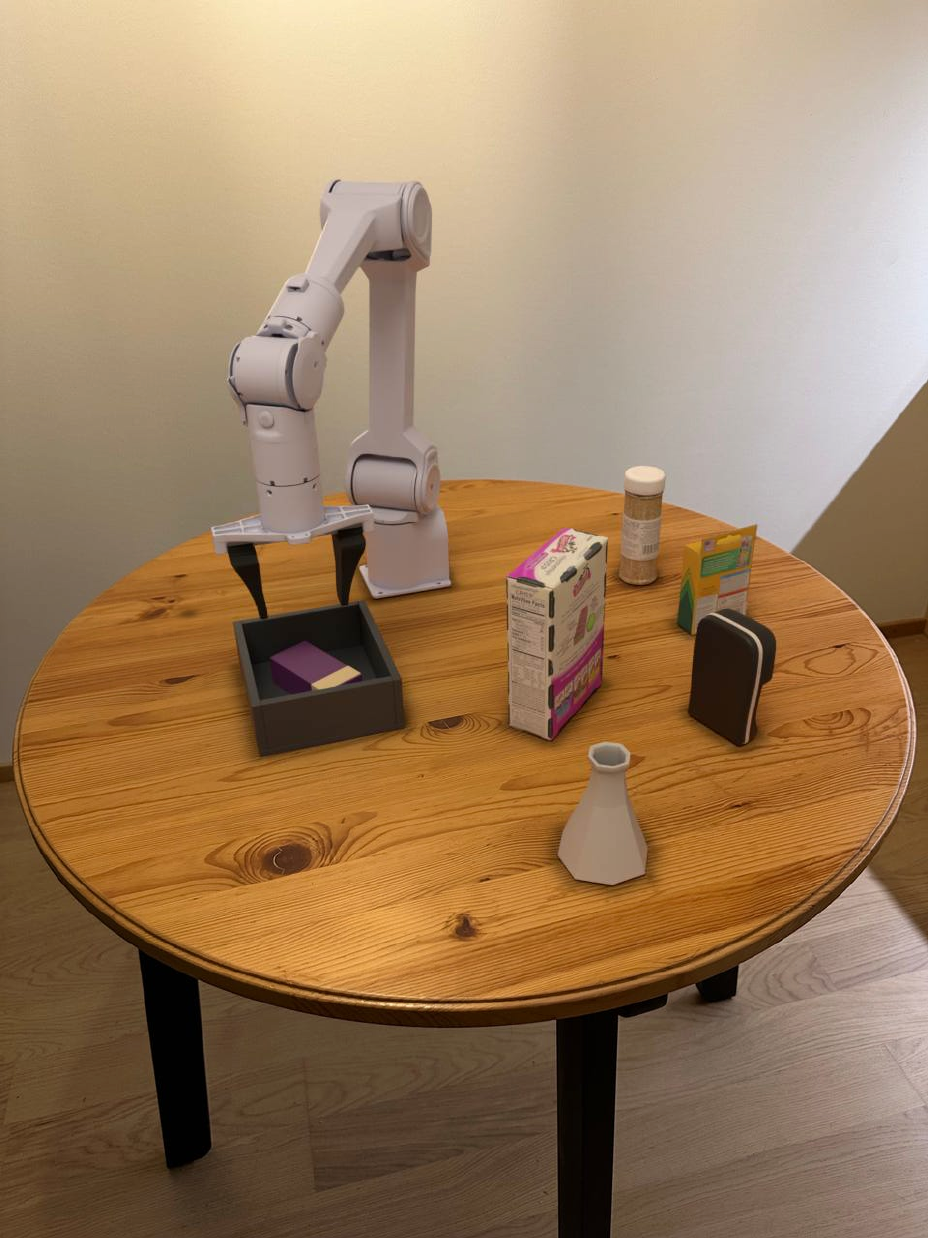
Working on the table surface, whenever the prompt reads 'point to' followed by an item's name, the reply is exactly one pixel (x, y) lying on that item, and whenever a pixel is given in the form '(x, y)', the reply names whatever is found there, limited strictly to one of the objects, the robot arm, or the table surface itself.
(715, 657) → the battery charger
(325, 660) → the chocolate bar
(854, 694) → the table surface
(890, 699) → the table surface
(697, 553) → the crayon box
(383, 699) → the open storage bin
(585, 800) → the flask
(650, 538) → the spice jar
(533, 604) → the candy bar box
